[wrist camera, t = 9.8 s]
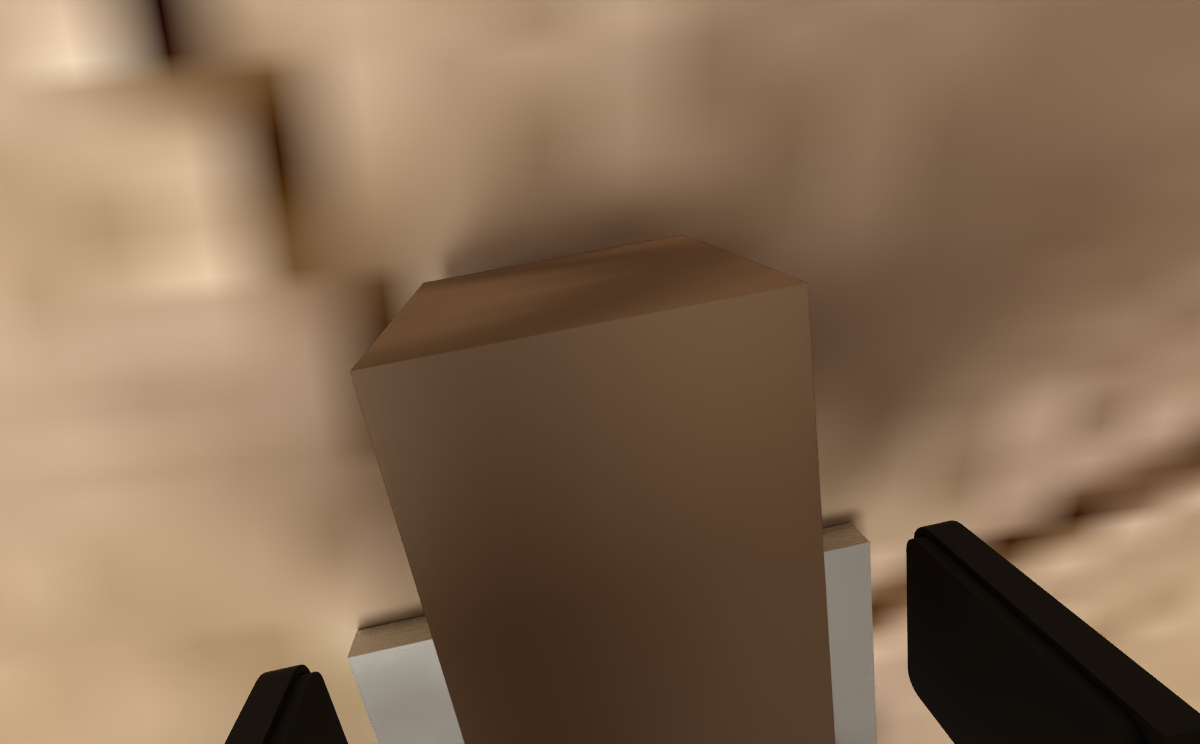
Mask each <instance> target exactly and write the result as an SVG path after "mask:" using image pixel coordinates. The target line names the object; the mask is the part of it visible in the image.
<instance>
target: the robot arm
mask: <svg viewBox="0 0 1200 744" xmlns="http://www.w3.org/2000/svg"><path fill="white" fill-rule="evenodd" d="M906 552H907V636H908V674H909V678H910V681H911V683H912V686H913V688H914V690H915V692H916V693H917V695H918V696H919V698H920V699H921V700H922V702H923V703H924V704H925V706H926V707H927V708H928V710H929V711H930V712H931V713H932V715H933V716H934V717H935V719H936V720H937V721H938V723H939V724H940V725H941V727H942V728H943V729H944V730H945V732H946V733H947V734H948V736H949V737H950V738H951V740H952V741H953V742H954V744H1200V713H1199V712H1197V711H1196V710H1195V709H1193V708H1192V707H1191V706H1190V705H1188V704H1187V703H1186V702H1185V701H1183V700H1182V699H1181V698H1180V697H1178V696H1177V695H1176V694H1175V693H1173V692H1172V691H1171V690H1170V689H1168V688H1167V687H1166V686H1165V685H1163V684H1162V683H1161V682H1160V681H1158V680H1157V679H1156V678H1154V677H1153V676H1152V675H1151V674H1149V673H1148V672H1147V671H1146V670H1144V669H1143V668H1142V667H1141V666H1139V665H1138V664H1137V663H1136V662H1134V661H1133V660H1132V659H1131V658H1129V657H1128V656H1127V655H1126V654H1124V653H1123V652H1122V651H1121V650H1119V649H1118V648H1117V647H1115V646H1114V645H1113V644H1112V643H1110V642H1109V641H1108V640H1107V639H1105V638H1104V637H1103V636H1102V635H1100V634H1099V633H1098V632H1097V631H1095V630H1094V629H1093V628H1092V627H1090V626H1089V625H1088V624H1087V623H1085V622H1084V621H1083V620H1082V619H1080V618H1079V617H1078V616H1076V615H1075V614H1074V613H1073V612H1071V611H1070V610H1069V609H1068V608H1066V607H1065V606H1064V605H1063V604H1061V603H1060V602H1059V601H1058V600H1056V599H1055V598H1054V597H1053V596H1051V595H1050V594H1049V593H1048V592H1046V591H1045V590H1044V589H1043V588H1041V587H1040V586H1039V585H1037V584H1036V583H1035V582H1034V581H1032V580H1031V579H1030V578H1029V577H1027V576H1026V575H1025V574H1024V573H1022V572H1021V571H1020V570H1019V569H1017V568H1016V567H1015V566H1014V565H1012V564H1011V563H1010V562H1009V561H1007V560H1006V559H1005V558H1004V557H1002V556H1001V555H1000V554H998V553H997V552H996V551H995V550H993V549H992V548H991V547H990V546H988V545H987V544H986V543H985V542H983V541H982V540H981V539H980V538H978V537H977V536H976V535H975V534H973V533H972V532H971V531H970V530H968V529H967V528H966V527H965V526H963V525H962V524H960V523H959V522H957V521H952V520H951V521H947V522H942V523H938V524H933V525H929V526H924V527H920V528H918V529H917V530H916V532H915V535H914V539H910V540H908V542H907V548H906ZM225 744H348V742H347V740H346V737H345V734H344V732H343V729H342V727H341V724H340V721H339V719H338V716H337V714H336V711H335V708H334V706H333V703H332V701H331V698H330V695H329V693H328V690H327V688H326V685H325V682H324V680H323V678H322V676H321V674H320V673H319V672H312V673H310V671H309V669H308V668H307V667H306V666H305V665H297V666H293V667H288V668H284V669H279V670H275V671H270V672H265V673H263V674H262V675H260V677H259V678H258V680H257V681H256V683H255V685H254V687H253V689H252V691H251V693H250V695H249V697H248V699H247V701H246V703H245V705H244V707H243V709H242V711H241V712H240V714H239V716H238V718H237V720H236V722H235V724H234V726H233V728H232V730H231V732H230V734H229V736H228V738H227V740H226V742H225Z"/></svg>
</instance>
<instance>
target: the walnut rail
mask: <svg viewBox="0 0 1200 744" xmlns="http://www.w3.org/2000/svg"><path fill="white" fill-rule="evenodd" d="M350 373H351V376H352V379H353V382H354V386H355V389H356V392H357V395H358V399H359V402H360V405H361V408H362V412H363V415H364V418H365V421H366V425H367V428H368V431H369V434H370V438H371V441H372V444H373V447H374V451H375V454H376V457H377V460H378V464H379V467H380V470H381V473H382V477H383V480H384V483H385V486H386V490H387V493H388V496H389V500H390V503H391V506H392V509H393V513H394V516H395V519H396V522H397V526H398V529H399V532H400V535H401V539H402V542H403V545H404V548H405V552H406V555H407V558H408V561H409V565H410V568H411V571H412V574H413V578H414V581H415V584H416V587H417V591H418V594H419V597H420V600H421V604H422V607H423V610H424V613H425V617H426V620H427V623H428V626H429V630H430V633H431V636H432V639H433V643H434V646H435V649H436V652H437V656H438V659H439V662H440V665H441V669H442V672H443V675H444V678H445V682H446V685H447V688H448V691H449V695H450V698H451V701H452V704H453V708H454V711H455V714H456V717H457V721H458V724H459V727H460V731H461V734H462V737H463V740H464V744H835V728H834V712H833V695H832V679H831V662H830V646H829V629H828V613H827V596H826V580H825V563H824V547H823V530H822V514H821V497H820V481H819V464H818V448H817V431H816V415H815V398H814V382H813V366H812V349H811V333H810V316H809V300H808V283H806V282H803V281H800V280H798V279H795V278H793V277H790V276H787V275H785V274H782V273H780V272H777V271H775V270H772V269H769V268H767V267H764V266H762V265H759V264H756V263H754V262H751V261H749V260H746V259H744V258H741V257H738V256H736V255H733V254H731V253H728V252H725V251H723V250H720V249H718V248H715V247H713V246H710V245H707V244H705V243H702V242H700V241H697V240H694V239H692V238H689V237H687V236H684V235H680V236H675V237H669V238H664V239H658V240H653V241H647V242H642V243H637V244H631V245H626V246H620V247H615V248H609V249H604V250H599V251H593V252H588V253H582V254H577V255H571V256H566V257H561V258H555V259H550V260H544V261H539V262H533V263H528V264H523V265H517V266H512V267H506V268H501V269H495V270H490V271H485V272H479V273H474V274H468V275H463V276H457V277H452V278H447V279H441V280H436V281H430V282H425V283H423V284H422V285H421V287H420V288H419V289H418V290H417V291H416V293H415V294H414V295H413V296H412V297H411V299H410V300H409V301H408V302H407V303H406V305H405V306H404V307H403V308H402V309H401V311H400V312H399V313H398V314H397V315H396V317H395V318H394V319H393V320H392V321H391V323H390V324H389V325H388V326H387V327H386V329H385V330H384V331H383V332H382V333H381V335H380V336H379V337H378V338H377V339H376V341H375V342H374V343H373V344H372V345H371V347H370V348H369V349H368V350H367V351H366V353H365V354H364V355H363V356H362V357H361V359H360V360H359V361H358V362H357V363H356V365H355V366H354V367H353V368H352V369H351V371H350Z"/></svg>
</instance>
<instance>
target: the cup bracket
mask: <svg viewBox="0 0 1200 744" xmlns="http://www.w3.org/2000/svg"><path fill="white" fill-rule="evenodd" d="M822 530H823V547H824V563H825V580H826V596H827V613H828V629H829V646H830V662H831V679H832V695H833V712H834V728H835V744H876V716H875V686H874V656H873V626H872V596H871V567H870V542H869V541H868V540H867V539H866V538H865V537H864V535H863V534H862V533H861V532H860V531H859V530H858V529H857V528H856V527H855V526H854V525H853V524H852V523H851V522H850V523H845V524H840V525H836V526H831V527H827V528H822ZM348 661H349V664H350V666H351V669H352V672H353V675H354V677H355V680H356V683H357V686H358V688H359V691H360V694H361V697H362V699H363V702H364V705H365V708H366V710H367V713H368V716H369V719H370V721H371V724H372V727H373V729H374V732H375V735H376V738H377V740H378V743H379V744H464V740H463V737H462V734H461V731H460V727H459V724H458V721H457V717H456V714H455V711H454V708H453V704H452V701H451V698H450V695H449V691H448V688H447V685H446V682H445V678H444V675H443V672H442V669H441V665H440V662H439V659H438V656H437V652H436V649H435V646H434V643H433V639H432V636H431V633H430V630H429V626H428V623H427V620H426V617H425V616H421V617H417V618H412V619H407V620H403V621H398V622H394V623H389V624H385V625H380V626H376V627H371V628H366V629H362V630H357V632H356V635H355V638H354V640H353V643H352V646H351V649H350V652H349V655H348Z"/></svg>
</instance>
